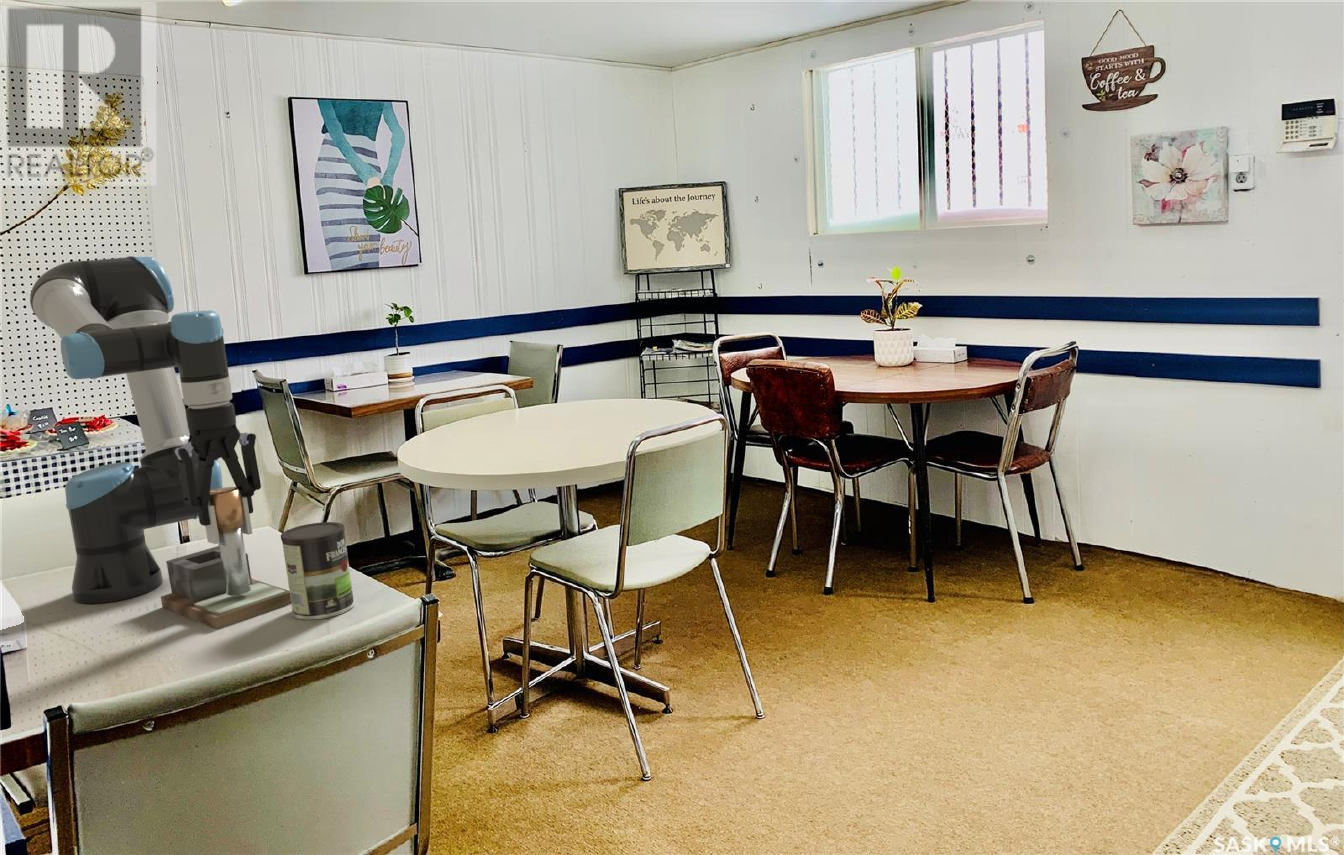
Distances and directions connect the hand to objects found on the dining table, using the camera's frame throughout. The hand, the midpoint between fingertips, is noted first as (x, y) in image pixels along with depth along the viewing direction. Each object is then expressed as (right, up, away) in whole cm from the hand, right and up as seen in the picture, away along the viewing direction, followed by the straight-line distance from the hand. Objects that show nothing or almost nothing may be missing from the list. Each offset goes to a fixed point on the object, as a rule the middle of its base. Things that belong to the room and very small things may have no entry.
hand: (230, 537), depth 184 cm
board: (-3, -12, +6) cm, 14 cm away
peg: (+1, -10, +2) cm, 10 cm away
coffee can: (+16, -12, 0) cm, 20 cm away
